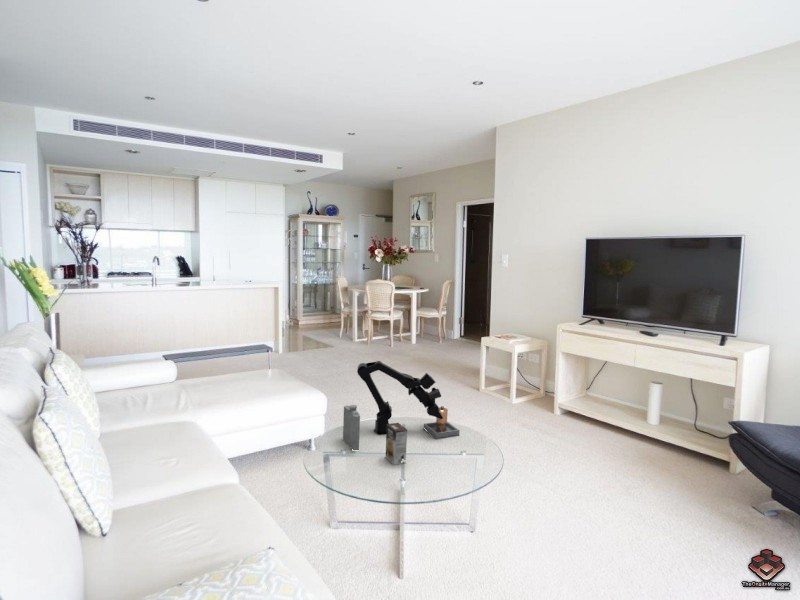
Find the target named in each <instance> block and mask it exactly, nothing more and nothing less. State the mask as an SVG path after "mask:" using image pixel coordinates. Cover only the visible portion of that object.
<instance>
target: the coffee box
mask: <svg viewBox="0 0 800 600" xmlns="http://www.w3.org/2000/svg"><path fill="white" fill-rule="evenodd" d="M385 435H386V437H385V438H386V439H385V458H386V459H387V461H389V462H390V463H391V464H392V465H394V466H396V465H401V461H402V459H404V460H407V459H406V458H407V445H408V444H407V443H408V440H407V439H408V429H407V428H406V427H405V426H403V425H402V424H401V423H399V422H393V423H392V422H391V423H389V424H387V431H386V434H385Z"/></svg>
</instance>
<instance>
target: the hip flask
mask: <svg viewBox="0 0 800 600" xmlns="http://www.w3.org/2000/svg"><path fill="white" fill-rule="evenodd" d="M357 408H358V406H357V405H355V404H350V405H344V406H343V422H342V423H343V426H342V428H343V429H342V430H343V431H342V435H343V436H342V441H343V442H344V443H346V444H347V445H348V446H349V447H350V448H352V449H353V450H359V451H360V429H361V428H360V427H361V424H360V423H361V421H360V419H361V415H360V413H359V411H357ZM352 449H351V450H352Z"/></svg>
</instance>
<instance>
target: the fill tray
mask: <svg viewBox="0 0 800 600" xmlns="http://www.w3.org/2000/svg"><path fill="white" fill-rule="evenodd" d="M424 428H425V429H426V430H427V431H428V432H429V433H430V434H431V435H432V436H433V437H432V436H431V435H430V434H429V433H428V432H427V433H428V434H429V435H430V436H431V437H432V438H434V439H435V440H441V439H446V438H452V437H453V438H454V437H459V436H460V429H459V428H457V427H456V426H454V425H453V424H451V423H450V422H449V421H447V431H445V432H439V433H438V432H436V421H435V422H427V423H423V429H424Z"/></svg>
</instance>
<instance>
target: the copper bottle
mask: <svg viewBox="0 0 800 600" xmlns="http://www.w3.org/2000/svg"><path fill="white" fill-rule="evenodd" d="M448 410H449V409H448V408H446V407H444V406H443V405H442V406H440V407H439V410H438V411H439V412H440V414H441V415H442V417H443V419H440V418H437V417H435V419H436V420H435V422H436V432H438V433H439V432H445V431H447V422H448Z"/></svg>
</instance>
